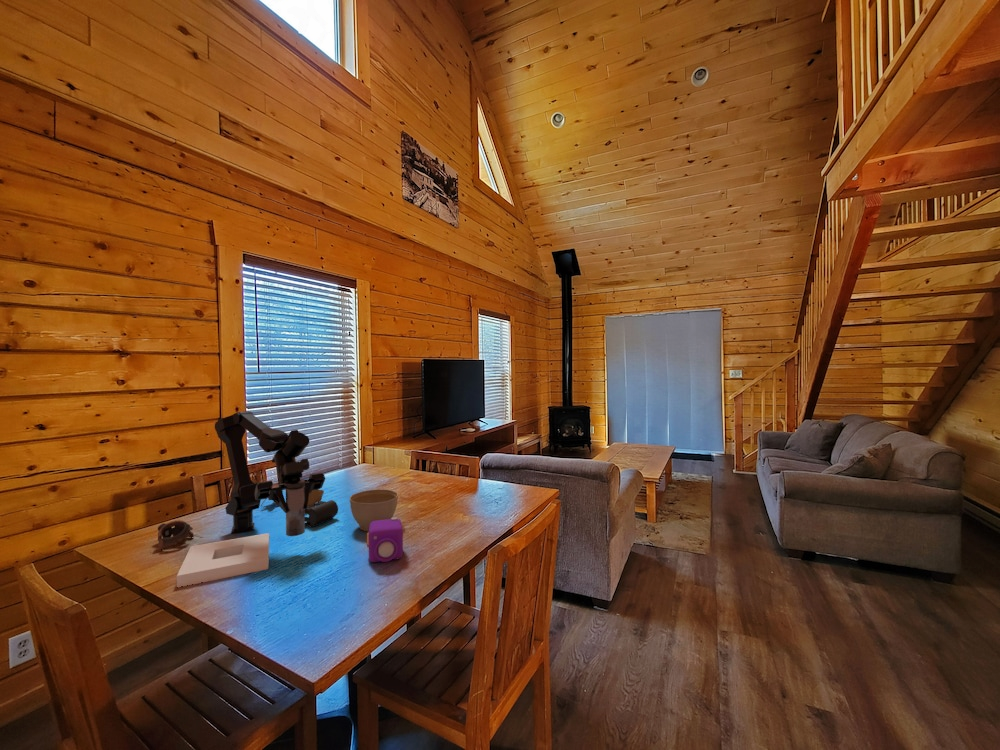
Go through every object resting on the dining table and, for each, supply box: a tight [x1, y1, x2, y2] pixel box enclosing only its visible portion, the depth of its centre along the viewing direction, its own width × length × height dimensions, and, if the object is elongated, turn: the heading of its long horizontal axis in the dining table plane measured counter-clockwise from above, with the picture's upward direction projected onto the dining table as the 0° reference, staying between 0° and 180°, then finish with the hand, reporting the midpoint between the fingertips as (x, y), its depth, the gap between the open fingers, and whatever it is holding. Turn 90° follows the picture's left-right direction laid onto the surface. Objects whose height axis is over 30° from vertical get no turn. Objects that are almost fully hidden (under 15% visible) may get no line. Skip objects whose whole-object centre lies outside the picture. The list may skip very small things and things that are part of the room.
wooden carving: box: [307, 489, 325, 506], centre depth 163 cm, size 16×5×10 cm, turn 172°
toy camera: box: [366, 516, 404, 563], centre depth 119 cm, size 11×14×10 cm
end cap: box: [305, 499, 339, 528], centre depth 147 cm, size 10×7×7 cm
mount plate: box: [176, 532, 270, 588], centre depth 116 cm, size 20×20×3 cm
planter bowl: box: [349, 488, 399, 532], centre depth 143 cm, size 16×16×11 cm
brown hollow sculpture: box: [157, 519, 195, 550], centre depth 129 cm, size 12×10×8 cm
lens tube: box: [285, 479, 306, 537], centre depth 122 cm, size 5×5×15 cm
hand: (296, 510), depth 121 cm, fingers closed on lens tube, 5 cm apart
